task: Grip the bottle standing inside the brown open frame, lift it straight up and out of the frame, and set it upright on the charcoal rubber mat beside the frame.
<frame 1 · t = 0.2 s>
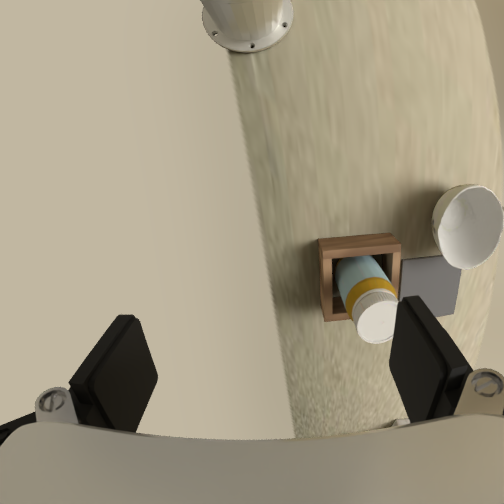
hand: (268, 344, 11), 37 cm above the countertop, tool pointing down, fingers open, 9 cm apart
bottle: (354, 269, 49), resting in brown open frame
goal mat: (430, 288, 49), on the countertop
brown open frame: (355, 270, 49), on the countertop
teacup: (454, 212, 44), on the countertop
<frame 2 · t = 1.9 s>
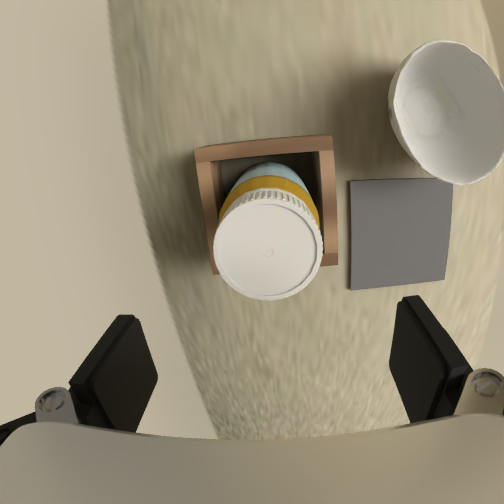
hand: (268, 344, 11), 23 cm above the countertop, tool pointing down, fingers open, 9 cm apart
bottle: (270, 195, 32), resting in brown open frame
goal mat: (402, 233, 32), on the countertop
brown open frame: (270, 196, 32), on the countertop
teacup: (431, 110, 27), on the countertop
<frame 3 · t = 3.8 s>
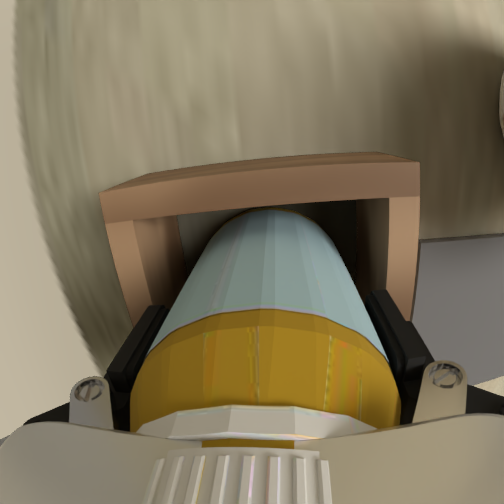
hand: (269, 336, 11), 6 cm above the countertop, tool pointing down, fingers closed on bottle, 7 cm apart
bottle: (271, 268, 17), resting in brown open frame, touching gripper
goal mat: (482, 319, 17), on the countertop
brown open frame: (271, 270, 17), on the countertop
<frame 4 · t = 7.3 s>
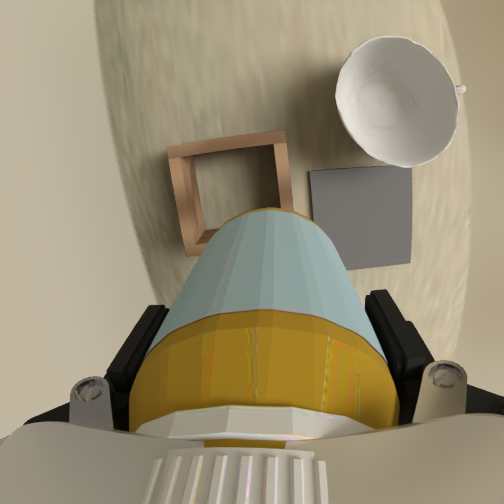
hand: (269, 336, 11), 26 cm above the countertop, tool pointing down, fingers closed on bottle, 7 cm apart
bottle: (270, 269, 17), point 20 cm above the countertop, touching gripper
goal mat: (364, 218, 36), on the countertop
brown open frame: (237, 187, 36), on the countertop
teacup: (386, 103, 31), on the countertop
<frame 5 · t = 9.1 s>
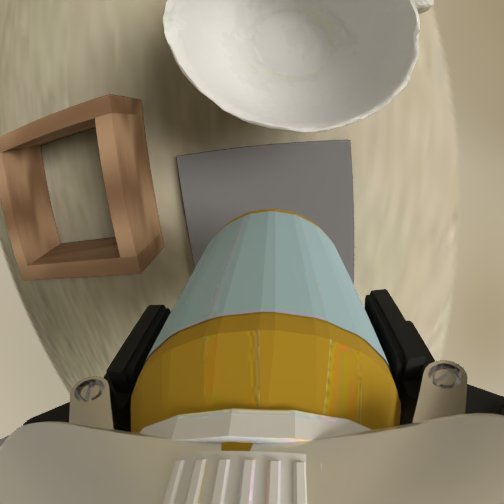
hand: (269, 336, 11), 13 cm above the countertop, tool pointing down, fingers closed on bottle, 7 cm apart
bottle: (271, 270, 17), point 7 cm above the countertop, touching gripper
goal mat: (271, 228, 24), on the countertop
brown open frame: (88, 186, 23), on the countertop
teacup: (306, 43, 19), on the countertop
when the fingers open (7 cm above the countertop, at t = 10.8 s): bottle stays where it is, resting on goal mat.
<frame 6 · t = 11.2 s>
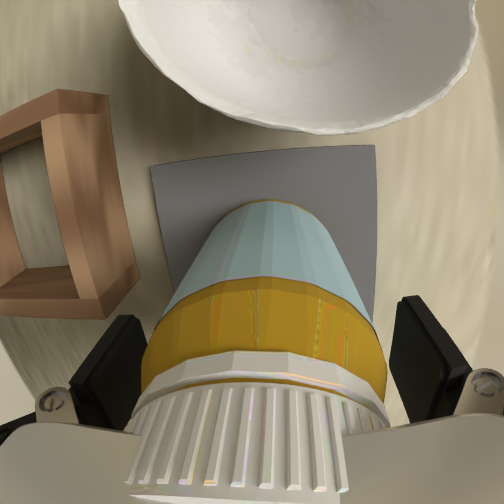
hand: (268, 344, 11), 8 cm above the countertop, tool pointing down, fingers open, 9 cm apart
bottle: (270, 257, 18), resting on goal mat
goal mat: (271, 257, 18), on the countertop
brown open frame: (50, 203, 18), on the countertop
teacup: (316, 21, 14), on the countertop
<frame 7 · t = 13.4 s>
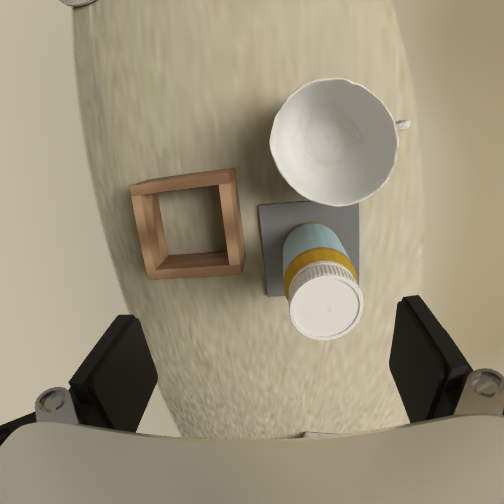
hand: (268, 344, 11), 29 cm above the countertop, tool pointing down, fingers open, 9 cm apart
bottle: (311, 248, 40), resting on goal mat
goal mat: (311, 248, 40), on the countertop
brown open frame: (195, 218, 40), on the countertop
teacup: (335, 138, 35), on the countertop
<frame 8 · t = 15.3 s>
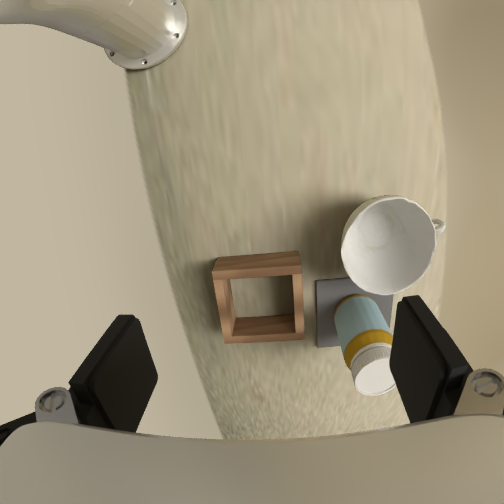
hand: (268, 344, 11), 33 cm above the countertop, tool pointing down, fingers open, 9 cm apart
bottle: (355, 311, 47), resting on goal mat
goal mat: (354, 311, 48), on the countertop
brown open frame: (261, 290, 47), on the countertop
teacup: (381, 227, 43), on the countertop
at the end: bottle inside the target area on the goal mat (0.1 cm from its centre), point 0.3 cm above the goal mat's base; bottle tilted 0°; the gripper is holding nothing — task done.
